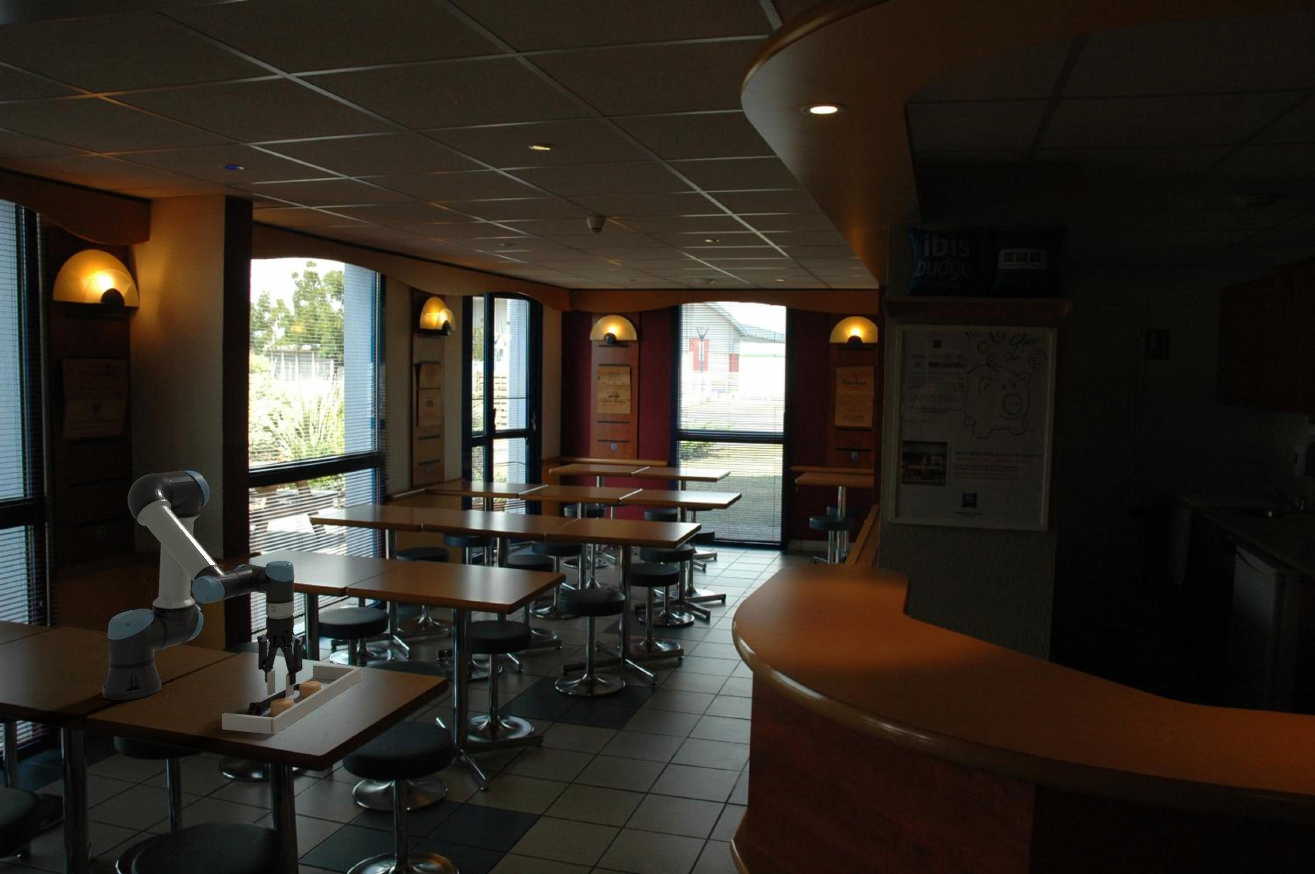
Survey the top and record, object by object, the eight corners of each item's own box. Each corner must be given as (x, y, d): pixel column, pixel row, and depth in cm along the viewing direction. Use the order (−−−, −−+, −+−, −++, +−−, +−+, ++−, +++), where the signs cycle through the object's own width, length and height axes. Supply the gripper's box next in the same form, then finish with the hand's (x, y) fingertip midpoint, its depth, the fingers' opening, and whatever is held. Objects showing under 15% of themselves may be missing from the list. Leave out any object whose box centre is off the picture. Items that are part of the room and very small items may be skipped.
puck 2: (295, 696, 265) (295, 685, 265) (313, 691, 270) (313, 679, 270) (307, 701, 262) (307, 689, 262) (325, 695, 267) (325, 684, 267)
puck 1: (265, 716, 250) (265, 704, 250) (281, 709, 256) (281, 697, 255) (283, 719, 248) (283, 706, 248) (298, 711, 254) (298, 699, 253)
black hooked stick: (312, 695, 273) (260, 725, 243) (296, 695, 273) (242, 725, 243) (312, 677, 273) (260, 705, 243) (295, 677, 273) (242, 706, 243)
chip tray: (222, 729, 240) (221, 714, 240) (315, 676, 283) (315, 664, 283) (274, 734, 237) (274, 719, 237) (360, 680, 280) (360, 667, 280)
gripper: (243, 616, 258) (244, 696, 259) (301, 621, 254) (301, 701, 256) (259, 610, 265) (260, 687, 266) (316, 614, 262) (316, 692, 263)
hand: (280, 694), depth 261 cm, fingers open, 5 cm apart
